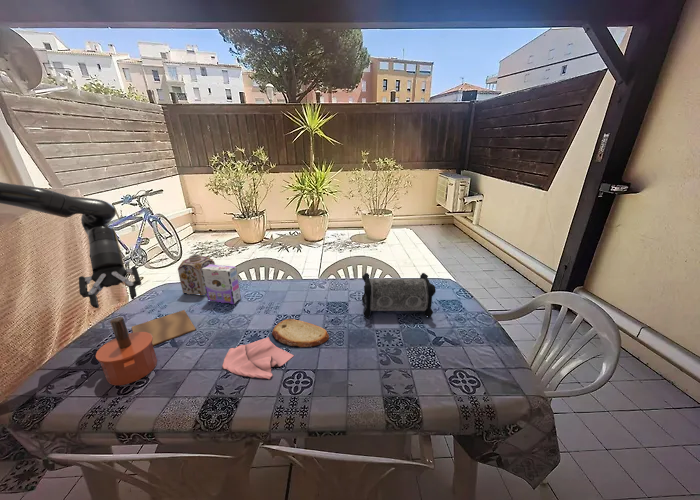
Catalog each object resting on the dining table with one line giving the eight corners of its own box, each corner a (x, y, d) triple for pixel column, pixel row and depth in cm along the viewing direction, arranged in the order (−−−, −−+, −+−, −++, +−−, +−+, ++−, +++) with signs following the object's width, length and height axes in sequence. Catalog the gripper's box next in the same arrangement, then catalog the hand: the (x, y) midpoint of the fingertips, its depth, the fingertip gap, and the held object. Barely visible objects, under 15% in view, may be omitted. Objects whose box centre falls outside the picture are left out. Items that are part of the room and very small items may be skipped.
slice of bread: (332, 340, 98) (332, 331, 97) (283, 358, 89) (282, 348, 88) (312, 316, 112) (312, 308, 111) (269, 329, 104) (268, 321, 103)
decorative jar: (204, 296, 128) (197, 261, 122) (182, 294, 129) (174, 259, 123) (219, 285, 139) (214, 252, 133) (199, 283, 140) (192, 250, 134)
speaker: (361, 301, 124) (362, 271, 119) (423, 301, 124) (426, 271, 119) (363, 320, 110) (364, 287, 105) (433, 319, 110) (437, 286, 105)
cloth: (222, 349, 93) (221, 343, 92) (285, 333, 102) (285, 327, 101) (222, 394, 76) (221, 387, 75) (299, 370, 84) (299, 364, 83)
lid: (97, 372, 73) (85, 341, 69) (96, 347, 82) (85, 318, 79) (156, 349, 81) (148, 320, 78) (149, 329, 91) (142, 302, 87)
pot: (108, 398, 74) (99, 374, 71) (106, 363, 87) (97, 341, 84) (162, 375, 82) (155, 352, 79) (152, 346, 94) (146, 325, 92)
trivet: (137, 351, 92) (137, 350, 92) (131, 327, 104) (131, 326, 104) (196, 330, 103) (195, 328, 103) (184, 310, 116) (184, 309, 116)
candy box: (241, 298, 126) (237, 266, 120) (233, 305, 120) (228, 271, 115) (216, 295, 129) (210, 263, 123) (207, 301, 123) (200, 268, 118)
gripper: (136, 257, 94) (145, 299, 89) (80, 267, 86) (87, 314, 81) (132, 247, 88) (142, 291, 83) (71, 256, 80) (78, 306, 75)
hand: (115, 302), depth 82 cm, fingers open, 8 cm apart
